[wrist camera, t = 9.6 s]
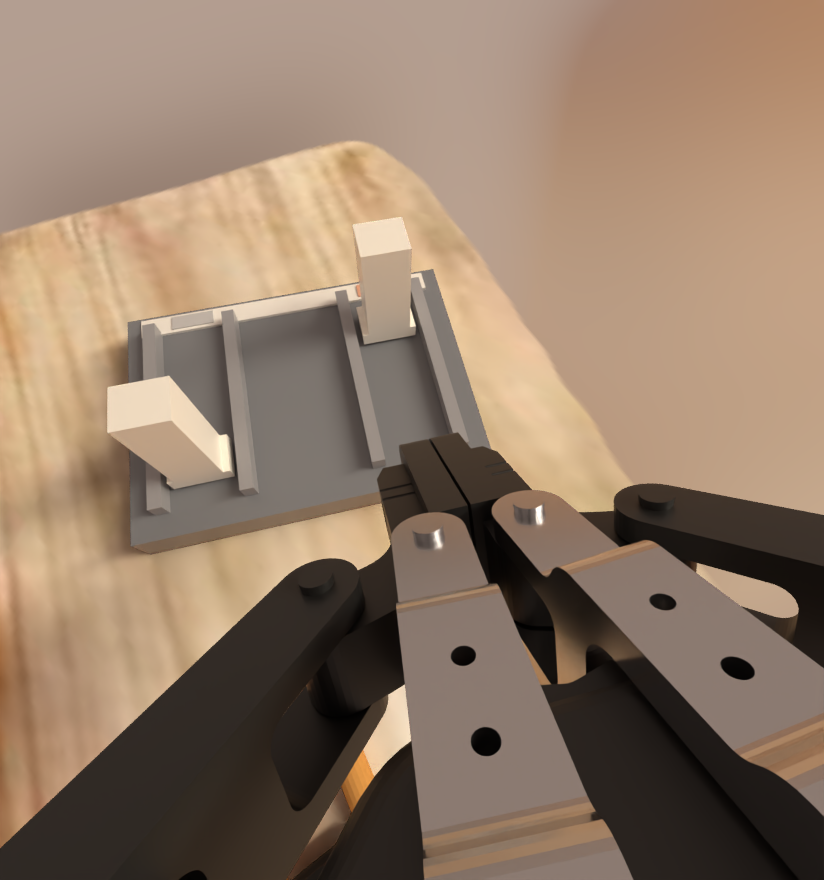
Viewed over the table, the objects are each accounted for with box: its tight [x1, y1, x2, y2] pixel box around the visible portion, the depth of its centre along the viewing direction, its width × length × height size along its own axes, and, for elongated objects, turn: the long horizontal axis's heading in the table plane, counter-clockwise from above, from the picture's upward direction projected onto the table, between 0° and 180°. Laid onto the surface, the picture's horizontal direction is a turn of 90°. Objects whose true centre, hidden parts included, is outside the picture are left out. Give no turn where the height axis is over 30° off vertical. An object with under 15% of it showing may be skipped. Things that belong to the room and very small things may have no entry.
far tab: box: [352, 217, 416, 344], centre depth 31 cm, size 4×2×8 cm, turn 103°
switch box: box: [128, 269, 491, 554], centre depth 33 cm, size 22×16×4 cm
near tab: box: [107, 376, 235, 489], centre depth 26 cm, size 4×2×8 cm, turn 103°
